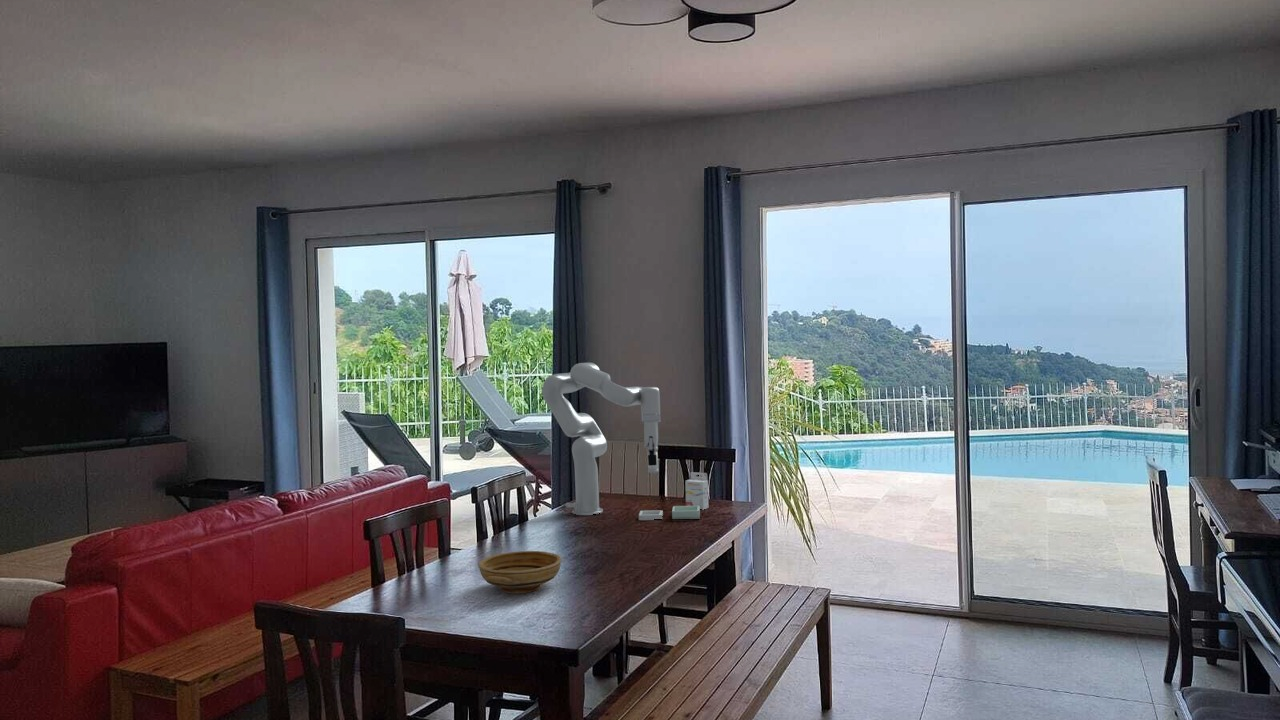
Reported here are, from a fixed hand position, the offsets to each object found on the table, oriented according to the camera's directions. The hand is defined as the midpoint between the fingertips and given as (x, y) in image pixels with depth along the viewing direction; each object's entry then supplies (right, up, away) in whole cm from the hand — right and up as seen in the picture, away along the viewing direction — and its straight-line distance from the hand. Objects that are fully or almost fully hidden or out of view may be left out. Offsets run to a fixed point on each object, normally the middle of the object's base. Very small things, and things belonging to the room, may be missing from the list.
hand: (652, 463), depth 349 cm
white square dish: (-1, -21, +1) cm, 22 cm away
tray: (+13, -21, 0) cm, 25 cm away
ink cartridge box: (+19, -21, +17) cm, 33 cm away
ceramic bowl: (-40, -25, -93) cm, 105 cm away
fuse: (0, -3, 0) cm, 3 cm away
